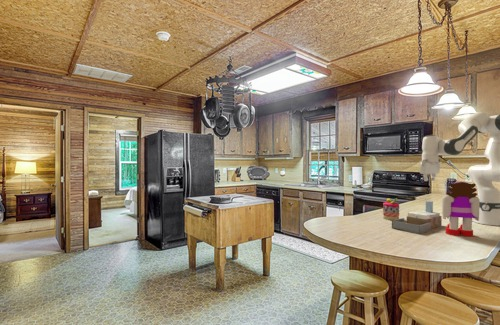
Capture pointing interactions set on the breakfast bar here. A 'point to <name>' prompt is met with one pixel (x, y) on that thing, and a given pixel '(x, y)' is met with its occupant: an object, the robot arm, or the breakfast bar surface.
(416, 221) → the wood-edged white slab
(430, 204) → the blue-knobbed white block
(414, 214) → the tile
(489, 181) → the robot arm
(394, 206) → the cake
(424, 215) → the tile
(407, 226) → the tray
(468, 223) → the toy
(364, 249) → the breakfast bar surface
